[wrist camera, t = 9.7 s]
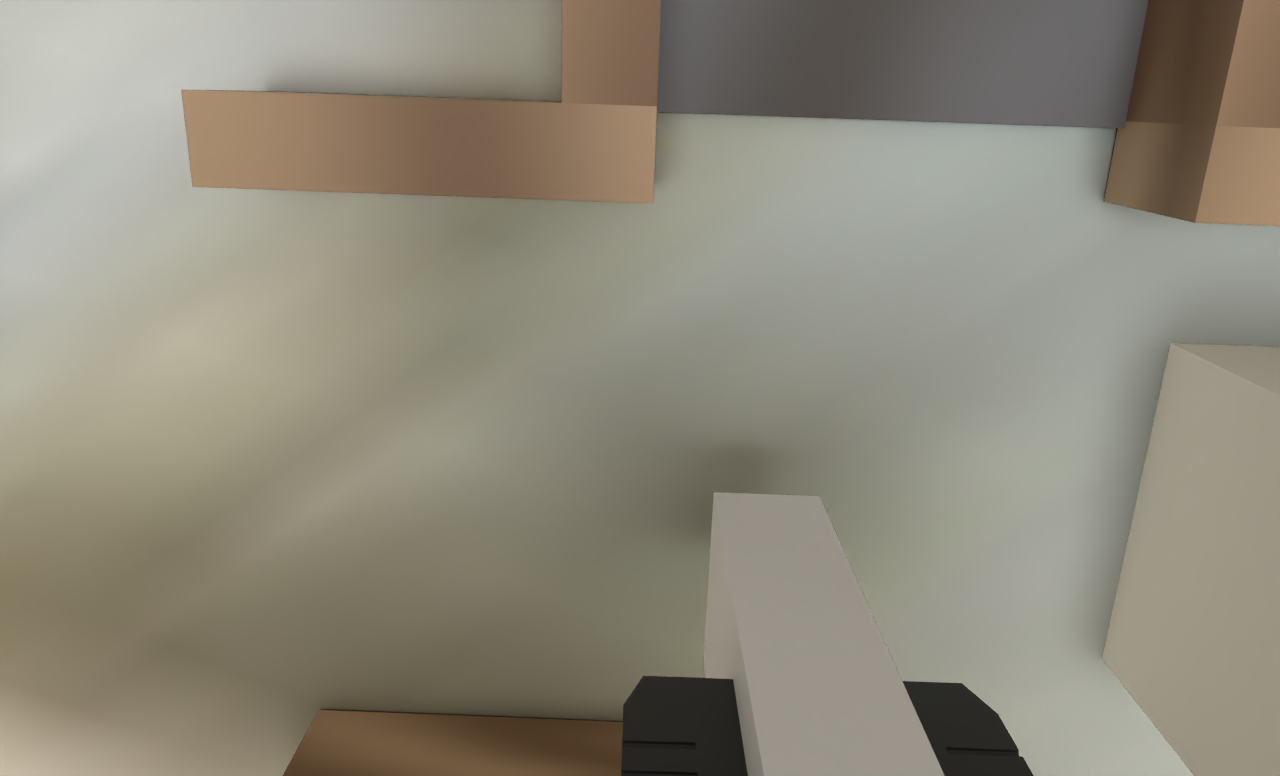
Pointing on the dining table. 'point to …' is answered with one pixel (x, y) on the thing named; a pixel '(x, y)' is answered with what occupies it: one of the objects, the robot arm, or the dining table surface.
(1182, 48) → the trap channel
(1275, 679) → the block
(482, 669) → the dining table surface
